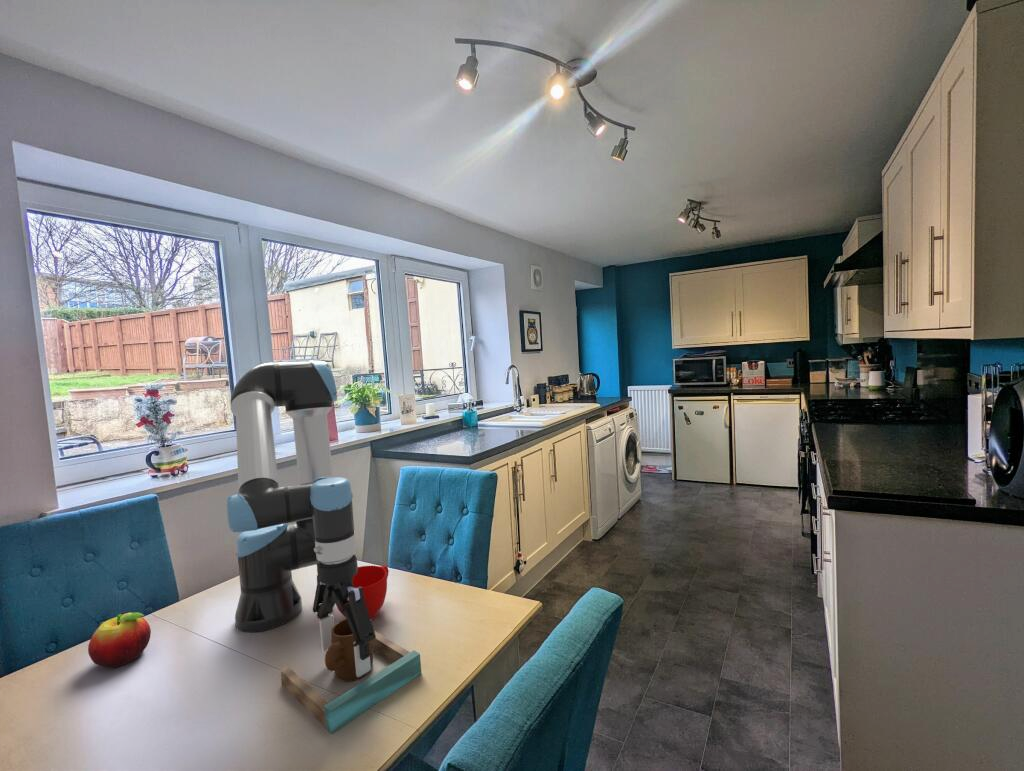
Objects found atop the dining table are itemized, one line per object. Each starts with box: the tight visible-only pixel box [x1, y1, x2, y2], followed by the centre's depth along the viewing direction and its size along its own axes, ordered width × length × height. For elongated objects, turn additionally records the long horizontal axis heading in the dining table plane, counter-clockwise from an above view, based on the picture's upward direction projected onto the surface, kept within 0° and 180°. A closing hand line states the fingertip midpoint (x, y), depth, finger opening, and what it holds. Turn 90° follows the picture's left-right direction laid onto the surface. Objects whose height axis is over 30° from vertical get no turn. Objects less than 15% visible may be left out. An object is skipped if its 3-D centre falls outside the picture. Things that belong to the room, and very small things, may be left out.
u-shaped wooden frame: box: [280, 630, 422, 734], centre depth 93 cm, size 20×19×4 cm
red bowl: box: [335, 565, 389, 620], centre depth 118 cm, size 13×17×10 cm
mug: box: [324, 618, 374, 682], centre depth 94 cm, size 12×8×9 cm, turn 167°
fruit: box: [87, 611, 152, 669], centre depth 104 cm, size 11×11×10 cm
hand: (345, 659), depth 94 cm, fingers open, 13 cm apart
